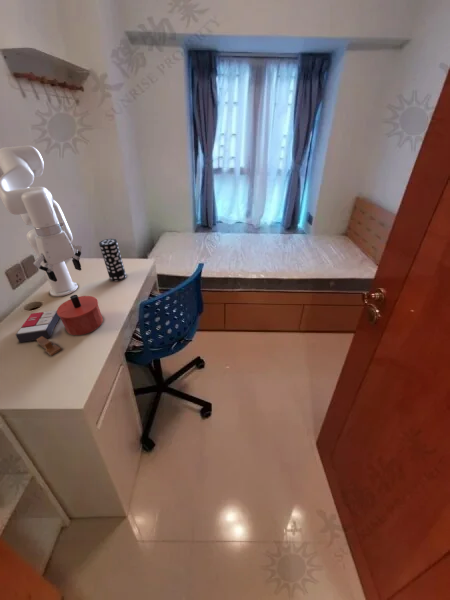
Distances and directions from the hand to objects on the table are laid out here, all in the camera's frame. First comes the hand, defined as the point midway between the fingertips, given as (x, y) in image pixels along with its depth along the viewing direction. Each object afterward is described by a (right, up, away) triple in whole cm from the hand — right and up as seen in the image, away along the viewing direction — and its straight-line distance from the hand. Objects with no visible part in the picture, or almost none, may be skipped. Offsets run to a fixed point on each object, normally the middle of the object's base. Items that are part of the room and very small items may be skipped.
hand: (66, 274), depth 104 cm
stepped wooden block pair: (-7, -27, 0) cm, 28 cm away
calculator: (-16, -21, +10) cm, 29 cm away
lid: (+1, -12, +7) cm, 14 cm away
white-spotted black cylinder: (+2, +2, +45) cm, 45 cm away
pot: (+1, -19, +12) cm, 23 cm away
